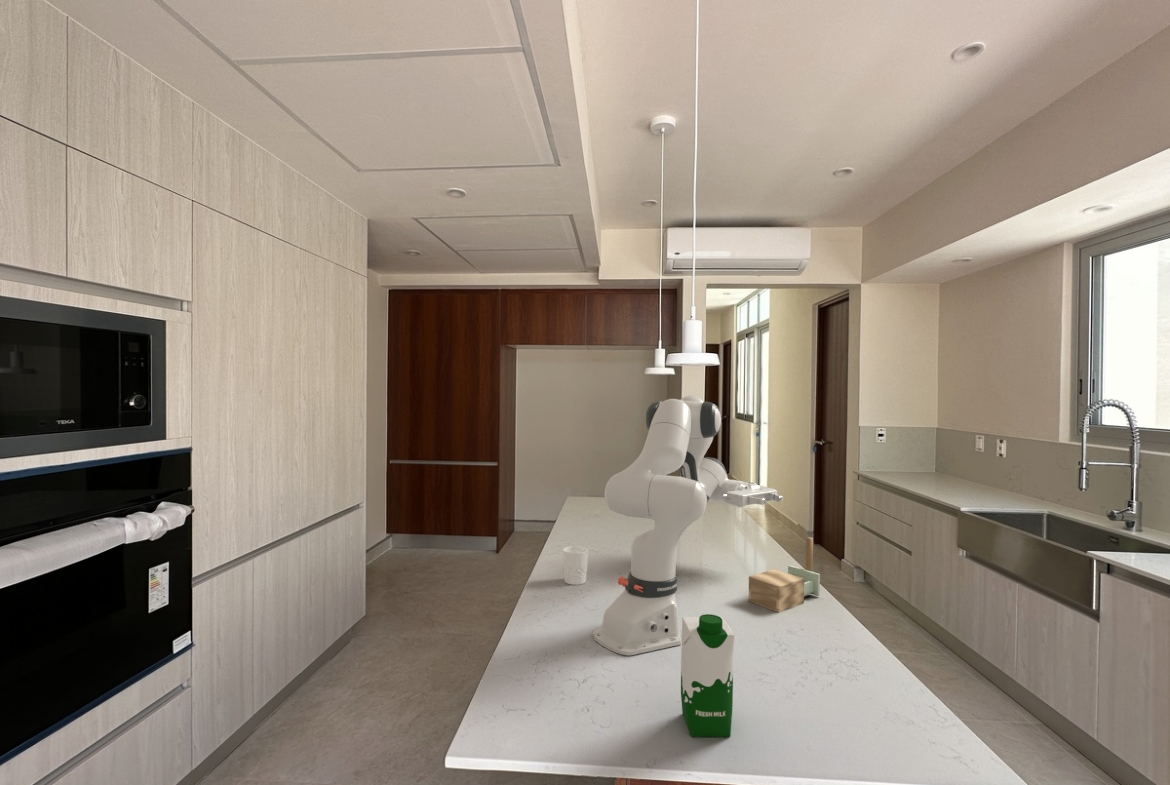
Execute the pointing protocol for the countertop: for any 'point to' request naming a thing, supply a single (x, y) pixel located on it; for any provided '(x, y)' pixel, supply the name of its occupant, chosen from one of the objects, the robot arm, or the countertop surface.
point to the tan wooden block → (776, 590)
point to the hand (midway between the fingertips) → (772, 500)
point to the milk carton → (707, 675)
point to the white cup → (575, 564)
